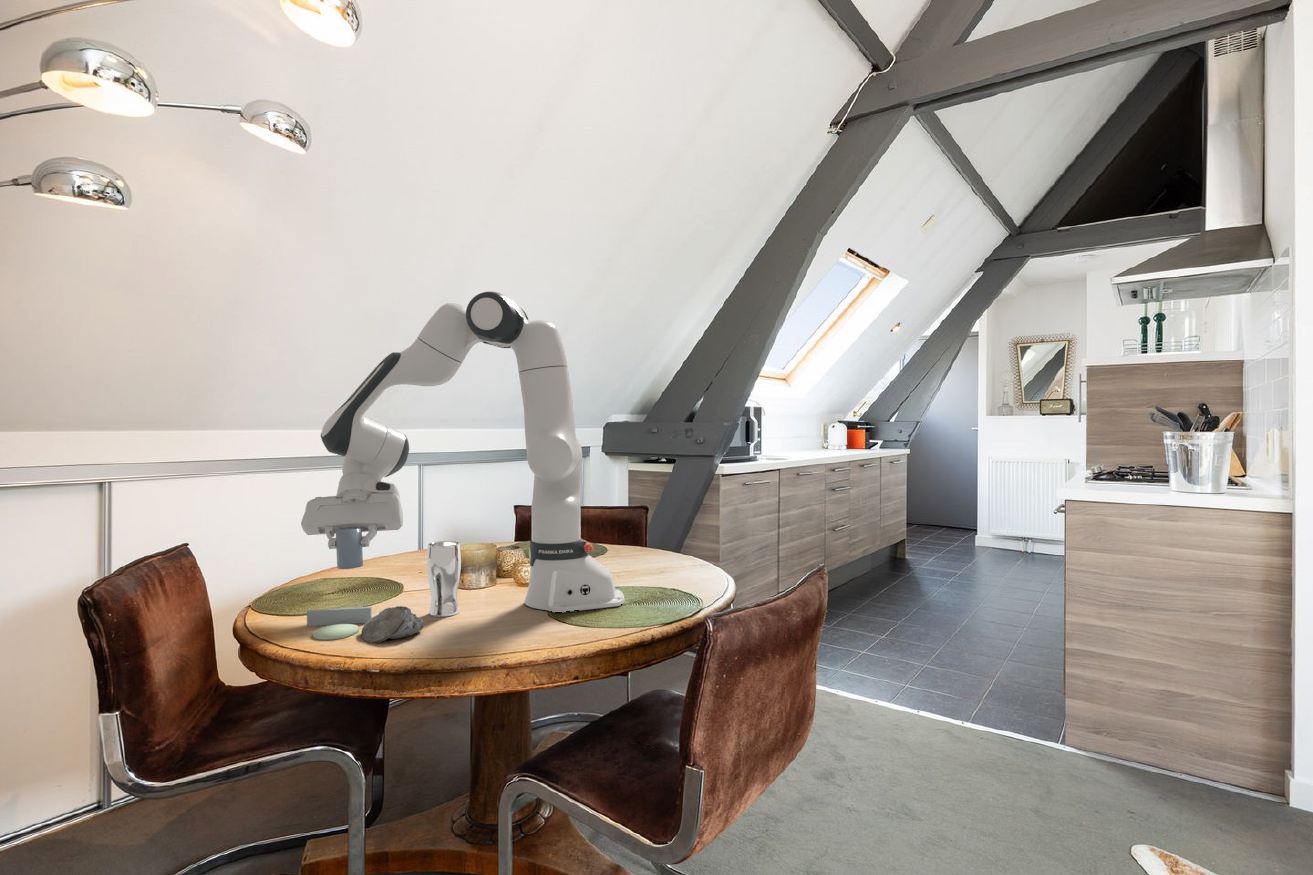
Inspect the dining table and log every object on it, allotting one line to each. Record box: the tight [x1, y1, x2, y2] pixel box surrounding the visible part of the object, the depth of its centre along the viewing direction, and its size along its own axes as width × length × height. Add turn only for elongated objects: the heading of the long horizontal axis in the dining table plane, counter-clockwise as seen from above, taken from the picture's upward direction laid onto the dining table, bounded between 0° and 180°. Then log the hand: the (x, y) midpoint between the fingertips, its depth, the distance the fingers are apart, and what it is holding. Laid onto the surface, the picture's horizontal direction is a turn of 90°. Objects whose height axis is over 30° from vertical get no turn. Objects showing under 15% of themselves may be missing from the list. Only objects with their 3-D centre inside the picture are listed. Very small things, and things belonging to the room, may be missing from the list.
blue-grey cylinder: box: [335, 527, 364, 570], centre depth 140 cm, size 5×5×8 cm
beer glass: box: [426, 540, 462, 618], centre depth 141 cm, size 7×7×15 cm
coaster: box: [312, 624, 360, 641], centre depth 128 cm, size 8×8×1 cm
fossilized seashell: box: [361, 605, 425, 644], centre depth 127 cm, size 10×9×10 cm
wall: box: [306, 606, 373, 627], centre depth 134 cm, size 12×1×3 cm, turn 101°
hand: (348, 546), depth 140 cm, fingers closed on blue-grey cylinder, 5 cm apart
